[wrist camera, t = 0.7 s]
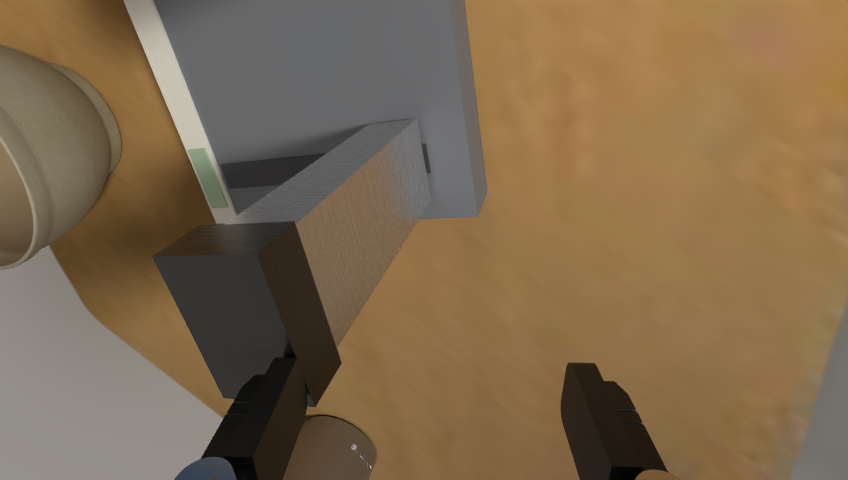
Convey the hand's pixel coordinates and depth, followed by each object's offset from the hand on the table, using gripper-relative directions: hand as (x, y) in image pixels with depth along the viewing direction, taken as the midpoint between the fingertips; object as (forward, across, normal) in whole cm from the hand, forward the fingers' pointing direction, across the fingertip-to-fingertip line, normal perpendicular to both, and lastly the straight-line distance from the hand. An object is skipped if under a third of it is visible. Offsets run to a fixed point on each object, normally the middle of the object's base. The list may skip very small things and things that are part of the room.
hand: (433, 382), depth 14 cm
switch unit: (+21, -8, +9) cm, 25 cm away
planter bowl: (+28, -31, +3) cm, 41 cm away
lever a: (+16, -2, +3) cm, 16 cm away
